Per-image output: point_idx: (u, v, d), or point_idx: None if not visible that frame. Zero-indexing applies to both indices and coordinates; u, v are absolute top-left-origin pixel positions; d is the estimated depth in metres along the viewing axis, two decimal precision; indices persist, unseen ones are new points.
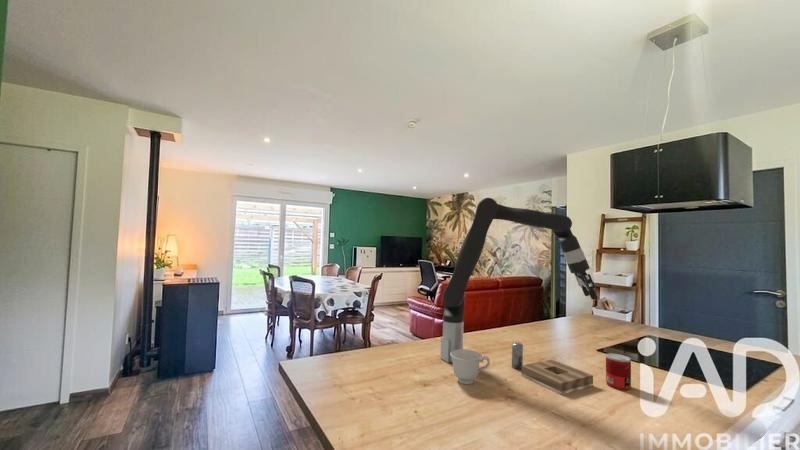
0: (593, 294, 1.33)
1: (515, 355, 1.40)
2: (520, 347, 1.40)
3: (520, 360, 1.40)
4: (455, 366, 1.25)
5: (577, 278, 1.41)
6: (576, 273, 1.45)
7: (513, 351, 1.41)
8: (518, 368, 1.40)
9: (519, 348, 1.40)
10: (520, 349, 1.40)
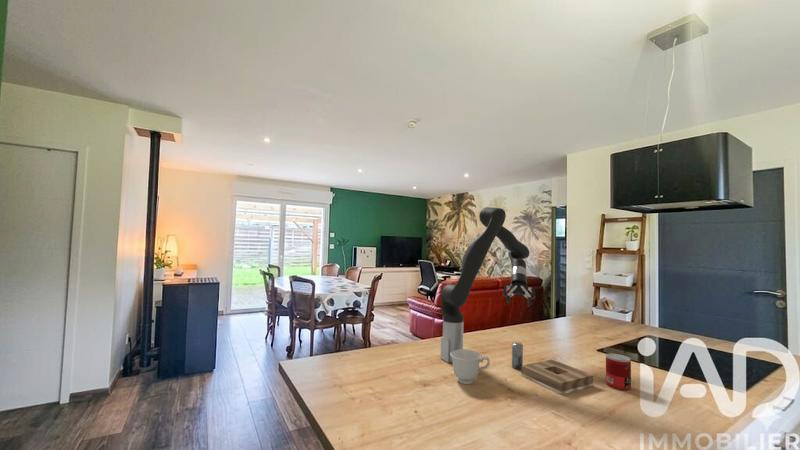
0: (530, 301, 1.54)
1: (515, 355, 1.40)
2: (520, 347, 1.40)
3: (520, 360, 1.40)
4: (455, 366, 1.25)
5: (516, 286, 1.59)
6: (506, 285, 1.62)
7: (513, 351, 1.41)
8: (518, 368, 1.40)
9: (519, 348, 1.40)
10: (520, 349, 1.40)
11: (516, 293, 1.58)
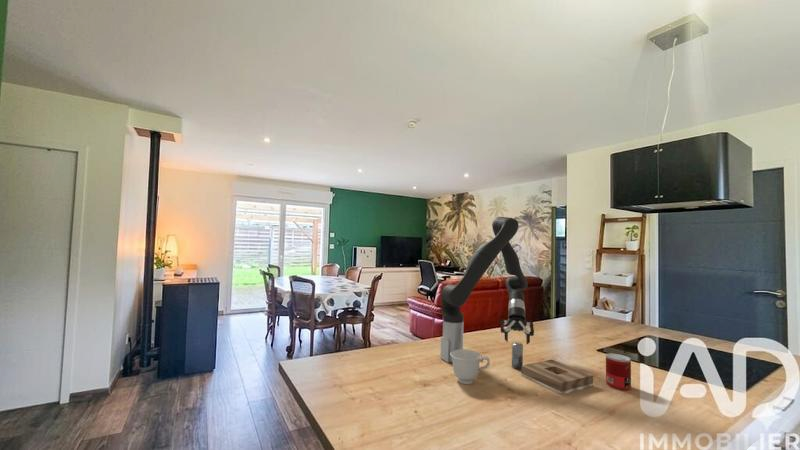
0: (529, 339, 1.46)
1: (515, 355, 1.40)
2: (520, 347, 1.40)
3: (520, 360, 1.40)
4: (455, 366, 1.25)
5: (514, 322, 1.52)
6: (503, 320, 1.55)
7: (513, 351, 1.41)
8: (518, 368, 1.40)
9: (519, 348, 1.40)
10: (520, 349, 1.40)
11: (514, 329, 1.51)
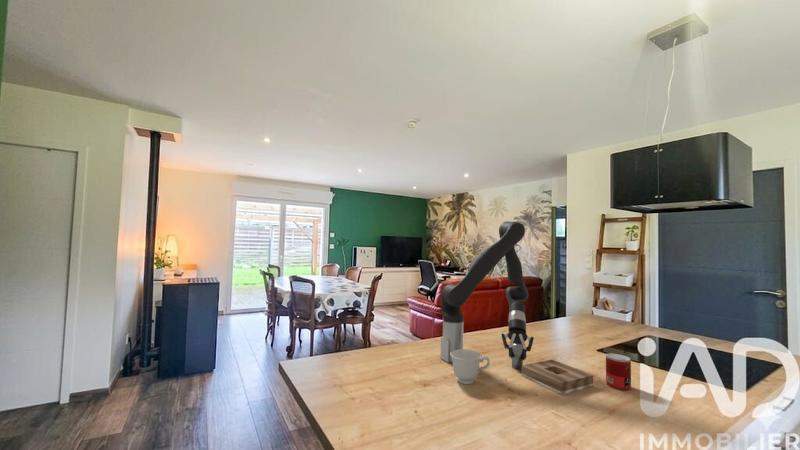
0: None
1: (515, 355, 1.40)
2: (520, 347, 1.40)
3: (520, 360, 1.40)
4: (455, 366, 1.25)
5: (514, 335, 1.46)
6: (503, 334, 1.48)
7: (513, 351, 1.41)
8: (518, 368, 1.40)
9: (519, 348, 1.40)
10: (520, 349, 1.40)
11: (517, 342, 1.45)
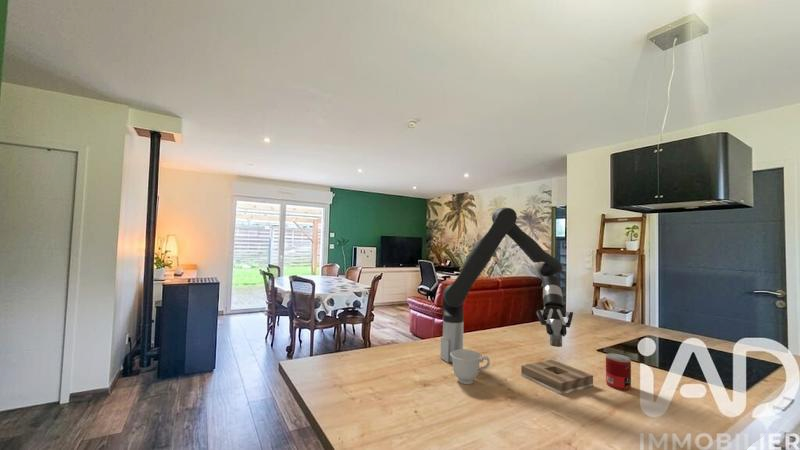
0: None
1: (554, 331, 1.29)
2: (560, 322, 1.29)
3: (560, 336, 1.28)
4: (455, 366, 1.25)
5: (552, 310, 1.34)
6: None
7: (552, 327, 1.30)
8: (558, 345, 1.28)
9: (559, 324, 1.28)
10: (560, 325, 1.29)
11: None
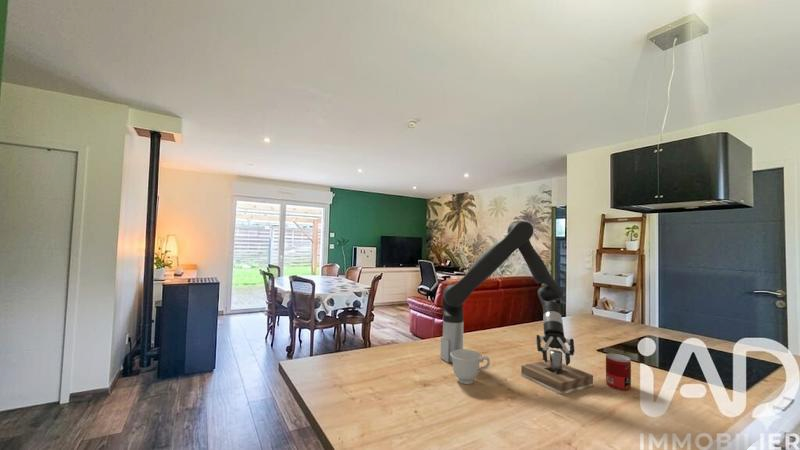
0: (569, 359, 1.28)
1: (554, 364, 1.28)
2: (560, 355, 1.28)
3: (560, 370, 1.28)
4: (455, 366, 1.25)
5: (552, 338, 1.34)
6: None
7: (552, 360, 1.29)
8: None
9: (559, 357, 1.28)
10: (560, 358, 1.28)
11: (553, 346, 1.33)
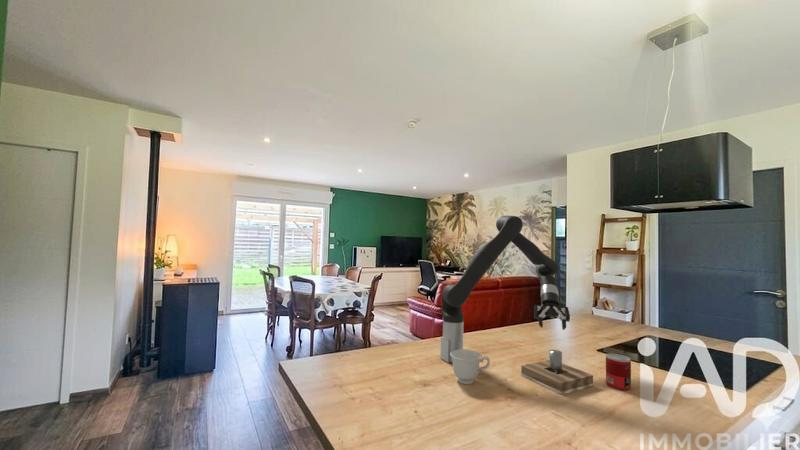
0: (565, 324, 1.41)
1: (554, 364, 1.28)
2: (559, 355, 1.28)
3: (560, 369, 1.28)
4: (455, 366, 1.25)
5: (548, 307, 1.46)
6: None
7: (551, 359, 1.29)
8: None
9: (558, 356, 1.28)
10: (559, 357, 1.28)
11: (548, 314, 1.46)
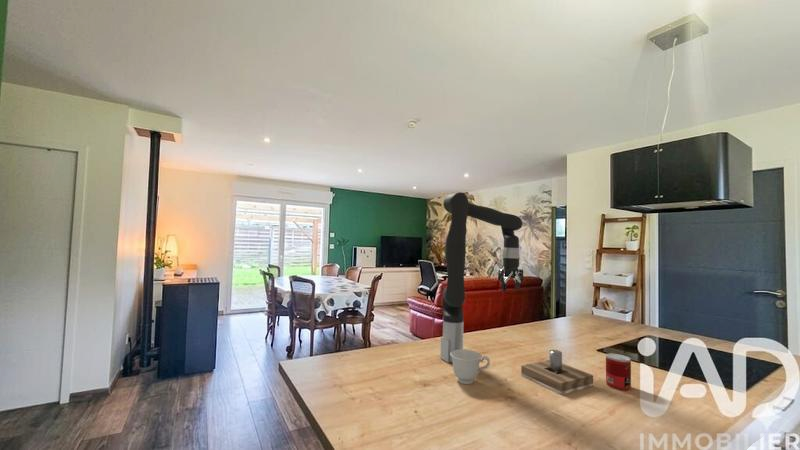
0: None
1: (554, 364, 1.28)
2: (560, 355, 1.28)
3: (560, 370, 1.28)
4: (455, 366, 1.25)
5: (512, 273, 1.58)
6: (503, 270, 1.57)
7: (552, 360, 1.29)
8: None
9: (559, 357, 1.27)
10: (560, 358, 1.28)
11: None
